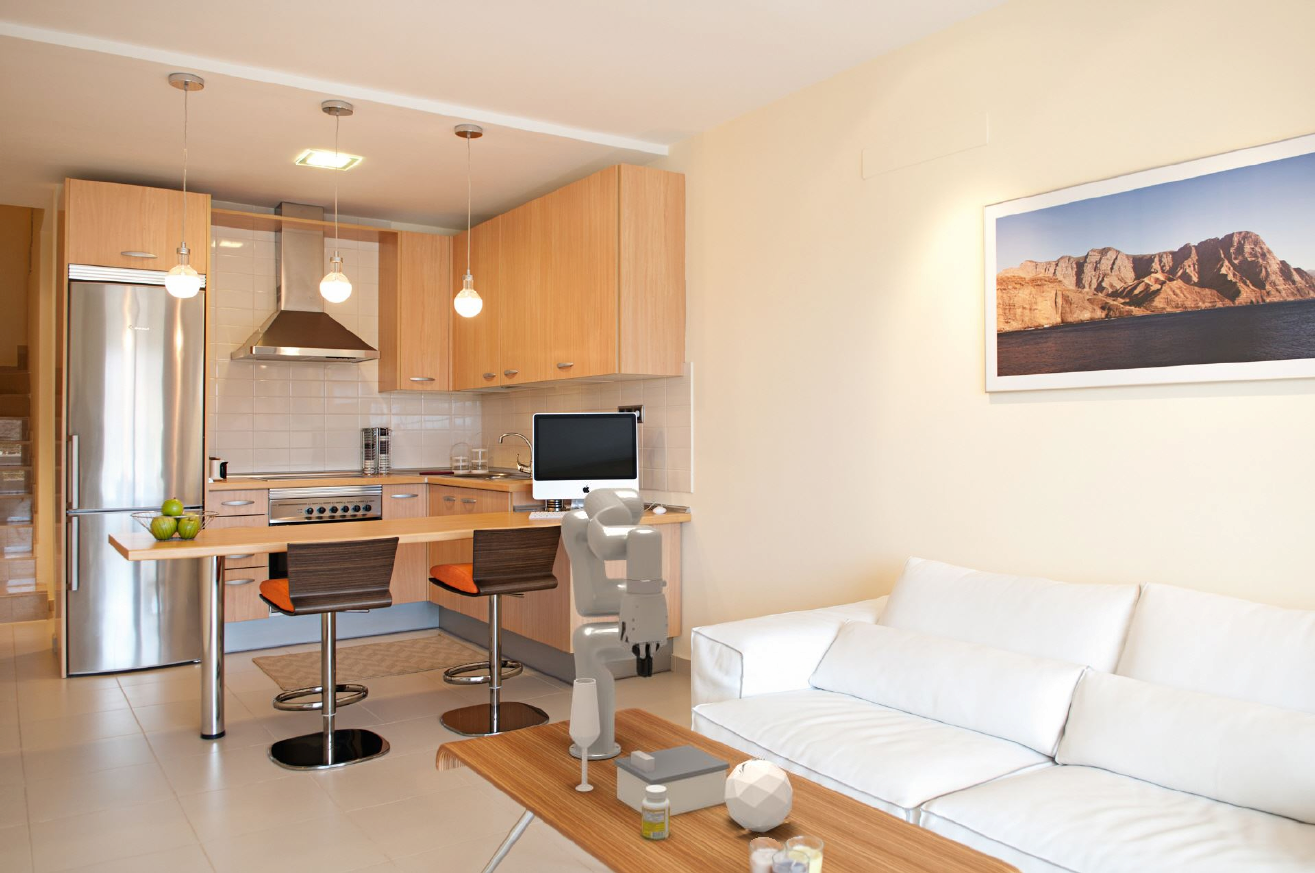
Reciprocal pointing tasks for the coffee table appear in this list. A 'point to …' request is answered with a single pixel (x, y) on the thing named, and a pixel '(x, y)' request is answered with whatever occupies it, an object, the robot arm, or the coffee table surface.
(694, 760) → the lid
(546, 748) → the coffee table surface
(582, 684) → the champagne flute
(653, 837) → the supplement bottle
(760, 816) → the geodesic sphere
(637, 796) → the storage box
